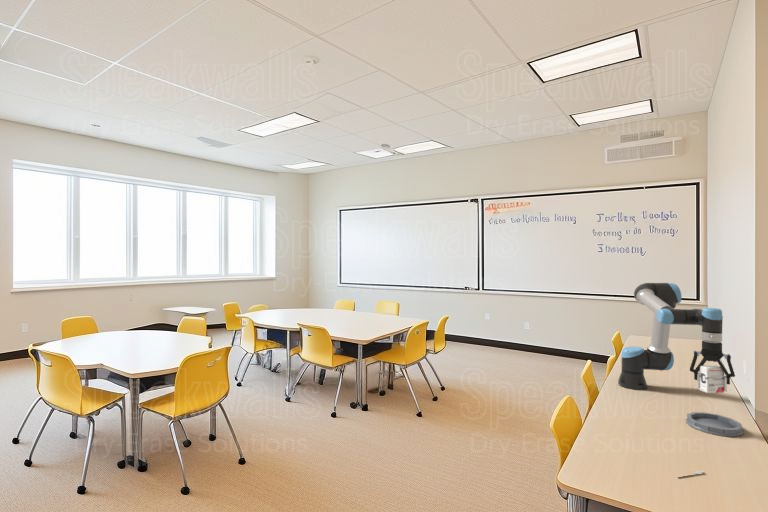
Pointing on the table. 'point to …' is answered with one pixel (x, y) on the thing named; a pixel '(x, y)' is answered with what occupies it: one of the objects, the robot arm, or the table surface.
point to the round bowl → (714, 424)
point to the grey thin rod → (698, 472)
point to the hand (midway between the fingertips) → (711, 388)
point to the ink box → (711, 379)
